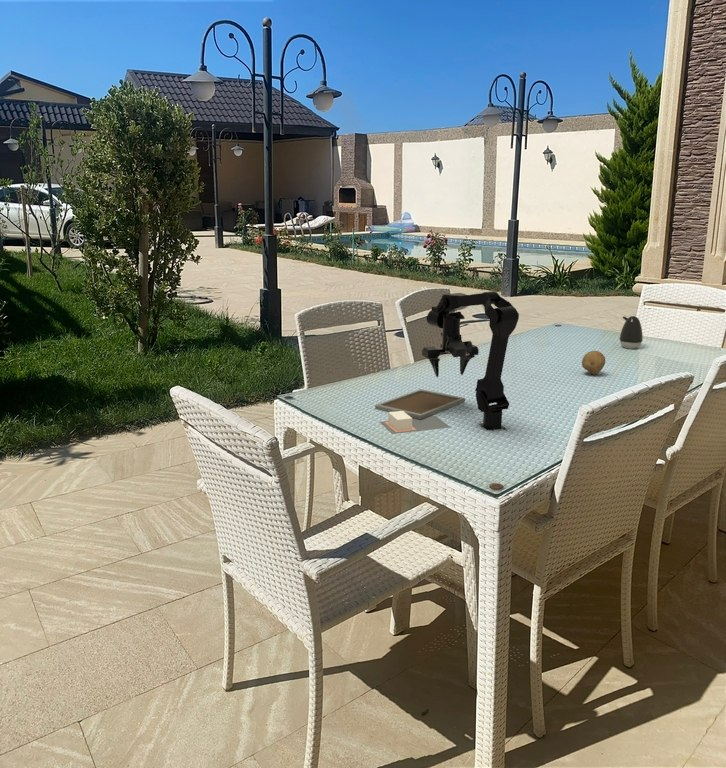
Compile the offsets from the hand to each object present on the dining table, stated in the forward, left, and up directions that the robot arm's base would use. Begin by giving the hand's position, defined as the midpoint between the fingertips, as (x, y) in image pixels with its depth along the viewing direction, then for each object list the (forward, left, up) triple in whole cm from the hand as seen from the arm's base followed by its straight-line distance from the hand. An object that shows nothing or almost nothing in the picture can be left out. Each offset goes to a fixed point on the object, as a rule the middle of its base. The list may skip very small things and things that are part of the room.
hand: (449, 375), depth 248 cm
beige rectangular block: (-13, +23, -11) cm, 29 cm away
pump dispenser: (+60, -123, -12) cm, 137 cm away
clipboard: (+5, +9, -12) cm, 16 cm away
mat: (-13, +18, -12) cm, 25 cm away
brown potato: (+24, -76, -12) cm, 81 cm away
